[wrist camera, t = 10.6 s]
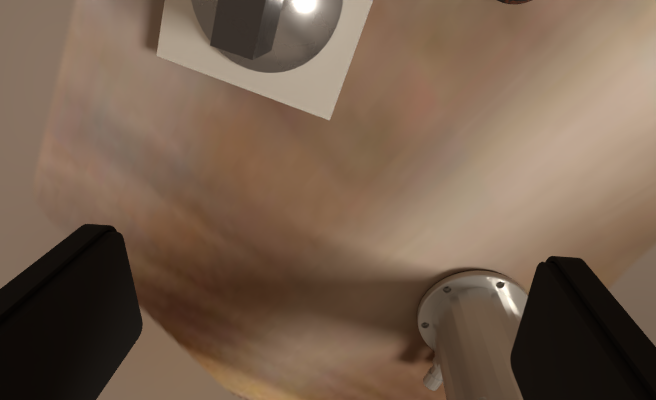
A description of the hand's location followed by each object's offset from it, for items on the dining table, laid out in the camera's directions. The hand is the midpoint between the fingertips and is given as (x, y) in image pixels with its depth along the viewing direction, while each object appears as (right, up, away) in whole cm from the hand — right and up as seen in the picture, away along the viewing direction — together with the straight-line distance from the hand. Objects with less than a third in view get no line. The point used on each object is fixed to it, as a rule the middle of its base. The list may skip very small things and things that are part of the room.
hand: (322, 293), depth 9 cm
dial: (-5, +19, +23) cm, 30 cm away
